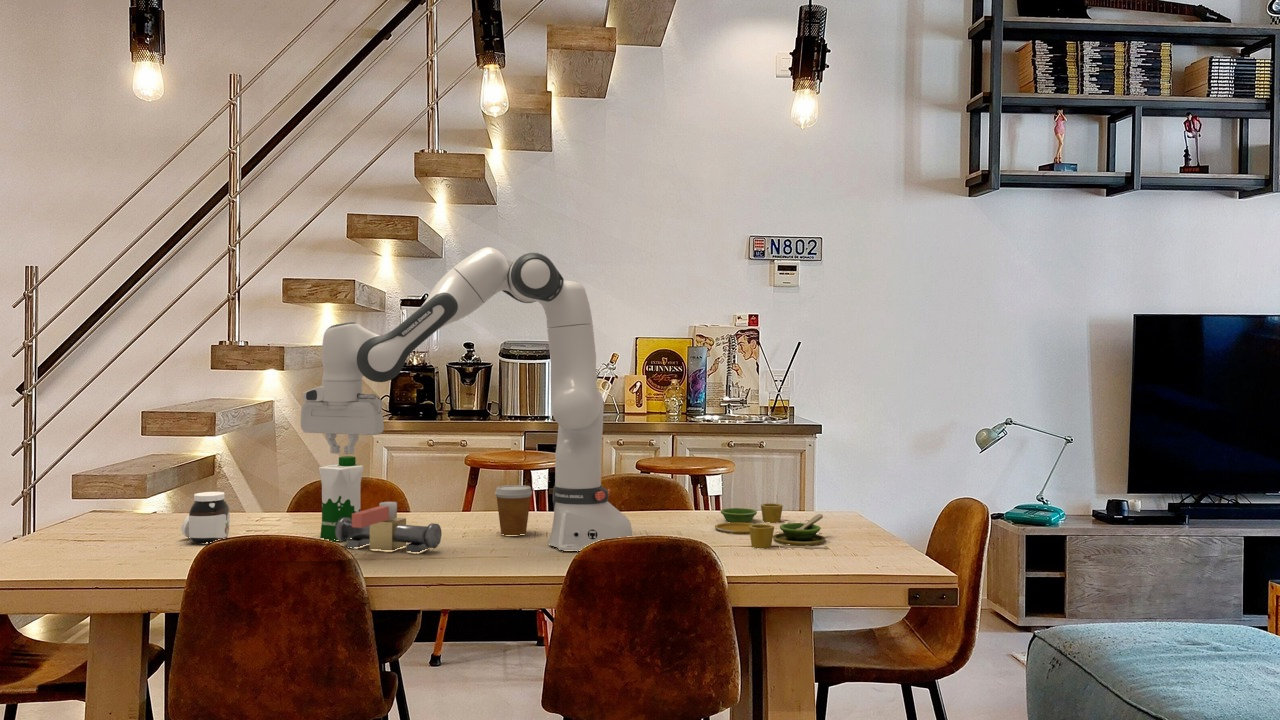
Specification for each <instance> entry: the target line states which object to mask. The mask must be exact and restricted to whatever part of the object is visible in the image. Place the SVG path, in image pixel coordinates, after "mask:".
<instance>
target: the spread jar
mask: <svg viewBox="0 0 1280 720" xmlns="http://www.w3.org/2000/svg"><path fill="white" fill-rule="evenodd" d="M225 498H226V497H225V492H224V491H204V492H198V493H194V495H193V501H194V502H193V504H192V505H191V508H190V510H189V514H188V515H187V516H186V517H184V520H183V521H182V522H181V523H182V524H181V527H180V528H181V529H180V530H181V534H182V535H184V537H187V538H188V539H190V541H191V542H192V543H194V542H195V543H194V544H196V543H206V542H208V543H210V542H213V541H215V540H218V539H223V538H228V536H229V534H230V526H231V525H230V524H231V523H230V518H231V517H230V507H229V504H228V503H227V501H226V500H225ZM189 537H190V538H189Z"/></svg>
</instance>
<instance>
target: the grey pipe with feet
mask: <svg viewBox="0 0 1280 720" xmlns="http://www.w3.org/2000/svg"><path fill="white" fill-rule="evenodd" d="M335 535H336V538H337V539H338V540H339V541H344V542H346V547H347V546H348V547H349V548H350V547H352V548H354V547H360V546H363V545H366V544H369V543H370V546H369V550H370V549H381V550H395V549H397V548H400V547H403V546H406V548H405V550H406V551H411V552H420V551H422V550H425V549H428V548H429V549H437V548H438V547H439V545H440V543H441V541H442V527H441V526H440V524H438V523H435V522H434V523H433V522H431V523H429V524H428V525H427V526H426V525H425V526H424V525H412V524H411V525H410V524H407V517H406V518H405V517H397V518H395V519H389V520H385V521H382V522H379V523H376V524H372V525H369V526H366V527H362V528H357V527H352V520H351V518H349V517H342V518H340V519H339V520H338V522H337V524H336V527H335ZM350 538H352V539H350ZM406 551H405V552H406Z"/></svg>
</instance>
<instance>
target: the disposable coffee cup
mask: <svg viewBox="0 0 1280 720" xmlns="http://www.w3.org/2000/svg"><path fill="white" fill-rule="evenodd" d="M494 494H495V497H496V502H497V504H496V505H497V511H498V520H499V527H500V529H499V530H500V535H501V534H504V535H520V534H525V533H526V534H527V528H528V527H527V526H528V520H529V513H530V510H529V509H530V504H531V497H532V494H533V491H532V487H531V486H530V485H522V484H521V485H520V484H509V485H500V486H497V487H496V490H495V492H494Z"/></svg>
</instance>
